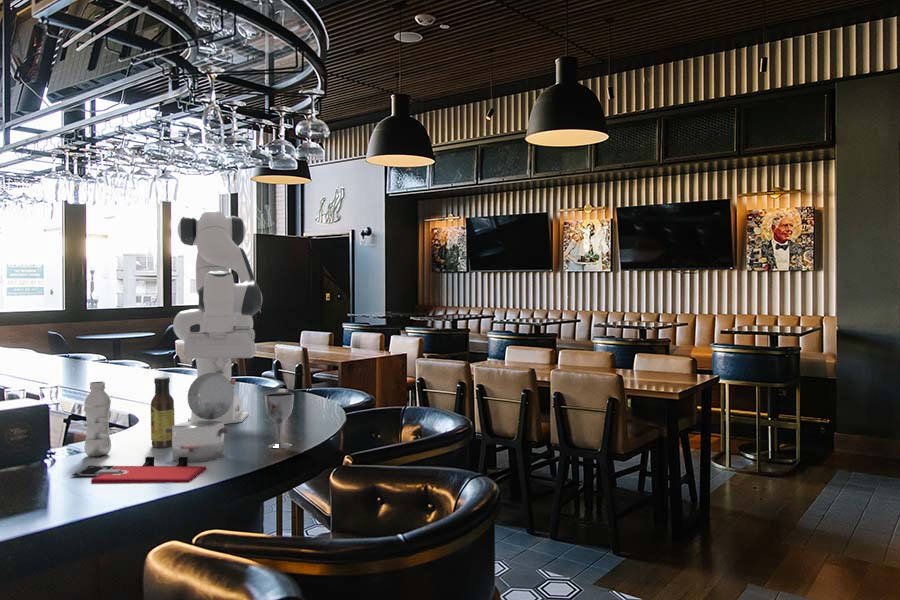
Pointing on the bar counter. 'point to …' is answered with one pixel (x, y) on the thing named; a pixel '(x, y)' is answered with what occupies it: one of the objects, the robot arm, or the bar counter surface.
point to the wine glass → (279, 412)
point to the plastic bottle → (97, 420)
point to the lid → (210, 396)
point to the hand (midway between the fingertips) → (220, 373)
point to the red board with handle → (143, 472)
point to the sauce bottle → (162, 414)
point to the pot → (198, 440)
